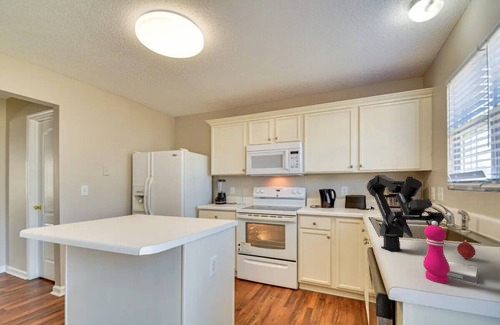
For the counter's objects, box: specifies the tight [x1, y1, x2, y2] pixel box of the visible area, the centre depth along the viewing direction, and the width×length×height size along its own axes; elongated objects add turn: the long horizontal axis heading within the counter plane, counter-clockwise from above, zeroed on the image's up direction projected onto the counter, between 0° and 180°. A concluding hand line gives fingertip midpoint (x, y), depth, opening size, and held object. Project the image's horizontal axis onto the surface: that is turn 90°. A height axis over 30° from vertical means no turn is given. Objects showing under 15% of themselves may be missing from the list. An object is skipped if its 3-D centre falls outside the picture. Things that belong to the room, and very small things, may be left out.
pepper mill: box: [423, 221, 450, 284], centre depth 81 cm, size 7×7×20 cm
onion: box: [456, 239, 477, 260], centre depth 100 cm, size 6×6×8 cm
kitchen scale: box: [446, 260, 479, 284], centre depth 85 cm, size 11×11×2 cm
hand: (425, 237), depth 86 cm, fingers open, 9 cm apart
